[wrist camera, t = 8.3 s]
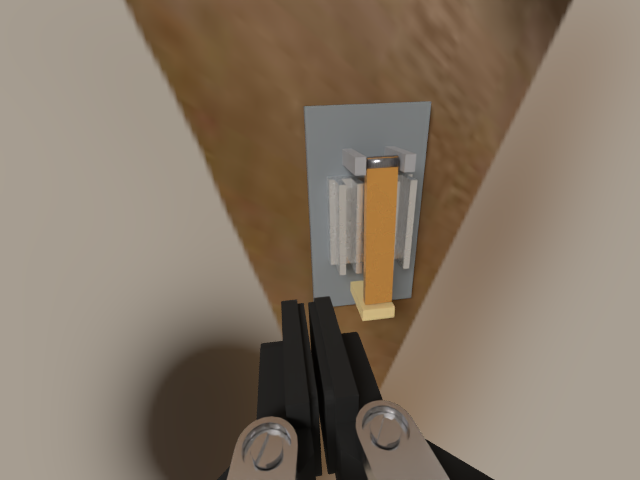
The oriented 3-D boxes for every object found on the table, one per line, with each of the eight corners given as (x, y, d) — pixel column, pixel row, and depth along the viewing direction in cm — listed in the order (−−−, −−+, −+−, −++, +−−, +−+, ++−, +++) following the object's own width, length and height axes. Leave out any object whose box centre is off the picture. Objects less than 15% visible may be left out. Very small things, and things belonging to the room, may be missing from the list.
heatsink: (326, 176, 33) (333, 185, 29) (406, 171, 34) (422, 179, 30) (328, 259, 37) (334, 275, 33) (400, 252, 38) (413, 267, 34)
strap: (364, 156, 29) (367, 157, 28) (394, 154, 29) (399, 155, 28) (362, 300, 34) (365, 305, 33) (388, 297, 35) (392, 302, 34)
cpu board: (303, 106, 31) (311, 106, 25) (426, 101, 32) (464, 101, 26) (313, 304, 41) (321, 341, 34) (408, 293, 42) (431, 327, 36)
